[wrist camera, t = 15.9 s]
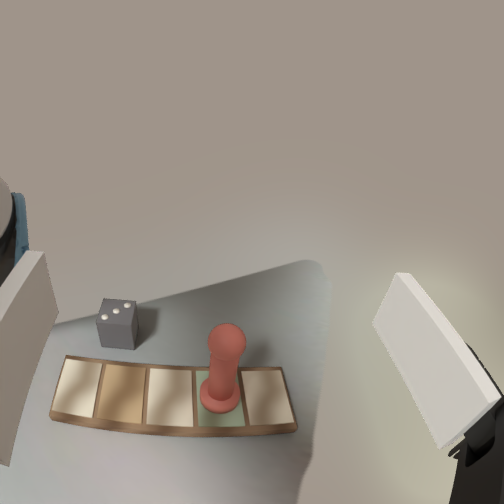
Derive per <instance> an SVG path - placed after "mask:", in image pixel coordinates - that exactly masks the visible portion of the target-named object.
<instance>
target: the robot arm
mask: <svg viewBox="0 0 504 504" xmlns="http://www.w3.org/2000/svg"><path fill="white" fill-rule="evenodd" d="M28 246H29V243H28V229H27V219H26V206H25V198H24V196H23V195H22V194H21V193H15V192H14V193H10V190H9V187H8V186H7V184H6V183H5V182H4V181H3V179H1V178H0V464H3V465H5V466H8V467H9V465H10V460H11V455H12V450H13V446H14V442H15V437H16V433H17V429H18V426H19V422H20V418H21V415H22V411H23V408H24V404H25V401H26V398H27V395H28V391H29V388H30V385H31V382H32V379H33V376H34V373H35V371H36V368H37V365H38V362H39V359H40V357H41V354H42V351H43V349H44V346H45V344H46V341H47V339H48V336H49V334H50V331H51V329H52V327H53V324H54V322H55V319H56V317H57V315H58V309H57V305H56V301H55V297H54V294H53V290H52V286H51V282H50V277H49V273H48V269H47V263H46V259H45V254H44V252H40V251H29V247H28ZM372 325H373V327H374V328H375V330H376V332H377V334H378V335H379V337H380V339H381V340H382V342H383V344H384V346H385V348H386V349H387V351H388V353H389V355H390V356H391V358H392V360H393V362H394V364H395V365H396V367H397V369H398V371H399V373H400V375H401V376H402V378H403V380H404V382H405V384H406V385H407V387H408V389H409V391H410V393H411V395H412V397H413V399H414V401H415V403H416V405H417V407H418V409H419V410H420V413H421V415H422V416H423V418H424V420H425V422H426V424H427V426H428V428H429V431H430V433H431V434H432V437H433V439H434V441H435V443H436V445H437V447H438V449H441V448H443V447H446V446H447V445H450V444H452V443H454V442H455V441H456V440H457V439H458V438H459V437H461V436H462V435H463V434H464V436H465V439H464V440H462V441H461V442H460V443H459V444H458V445H456V446H455V447H454V448H453V449H452V450H451V451H450V452H449V454H448V456H449V457H450V456H452V455H453V454H454V453H455V452H457V451H458V450H459V449H460V451H459V452H458V453H457V454H455V456H454V457H453V458H455V459H458V463H457V469H456V474H455V479H454V484H453V489H452V493H451V497H450V501H449V504H504V395H503V394H502V392H501V391H500V389H499V387H498V386H497V384H496V383H495V381H494V380H493V379H492V377H491V375H490V374H489V372H488V371H487V370H486V368H484V365H483V364H482V362H481V361H480V360H478V357H477V355H476V354H475V352H474V351H473V350H472V348H471V347H470V346H469V345H467V344H466V343H465V342H464V341H463V340H462V338H461V337H460V336H459V334H458V333H457V332H456V330H455V329H454V328H453V326H452V325H451V324H450V322H449V321H448V320H447V318H446V317H445V316H444V315H443V313H442V312H441V311H440V310H439V308H438V307H437V306H436V305H435V303H434V302H433V301H432V300H431V298H430V297H429V296H428V295H427V293H425V291H424V290H423V289H422V287H421V286H420V285H419V284H418V283H417V281H416V280H415V279H414V278H413V277H412V275H411V274H410V273H396V274H395V276H394V278H393V280H392V283H391V285H390V287H389V289H388V291H387V294H386V295H385V298H384V300H383V302H382V304H381V306H380V308H379V310H378V312H377V314H376V316H375V318H374V320H373V322H372Z"/></svg>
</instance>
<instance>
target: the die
mask: <svg viewBox="0 0 504 504" xmlns="http://www.w3.org/2000/svg"><path fill="white" fill-rule="evenodd" d="M96 325H97V329H98V334H99V338H100V342H101V346H102V347H110V348H120V349H130V350H134V349H135V343H136V336H137V330H138V318H137V307H136V301H127V300H116V299H103V302H102V305H101V308H100V311H99V314H98V317H97V320H96Z"/></svg>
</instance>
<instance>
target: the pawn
mask: <svg viewBox="0 0 504 504" xmlns="http://www.w3.org/2000/svg"><path fill="white" fill-rule="evenodd" d="M208 347H209V350H210V352H211V356H210V367H209V378H207V379H205V380H204V381H203V382H202V384H201V386H200V402H201V404H202V405H203V407H204V408H205V409H207V410H208V411H210V412H213V413H216V414H225V413H228V412H231V411H232V410H234V409H235V408H236V406H237V405H238V402H239V398H240V388H239V386H238V384H237V383H236V382H235V379H236V373H237V368H238V363H239V358H240V356H241V355H242V353H243V352H244V350H245V347H246V337H245V335H244V333H243V331H242V330H241V329H240V328H239V327H237V326H236V325H233V324H229V323H225V324H220V325H218V326H216V327H215V328H214V329H213V330H212V331H211V333H210V334H209V337H208Z"/></svg>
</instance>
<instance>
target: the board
mask: <svg viewBox="0 0 504 504" xmlns="http://www.w3.org/2000/svg"><path fill="white" fill-rule="evenodd" d="M207 378H209V367H185V366H166V365H151V364H138V363H127V362H117V361H108V360H99V359H91V358H84V357H76V356H70V355H66V356H65V360H64V363H63V366H62V369H61V373H60V376H59V379H58V383H57V386H56V390H55V394H54V397H53V401H52V405H51V409H50V413H49V416H50V418H51V419H52V420H54V421H58V422H63V423H68V424H73V425H78V426H84V427H90V428H96V429H103V430H110V431H118V432H126V433H136V434H147V435H161V436H182V437H234V436H255V435H269V434H280V433H290V432H295V431H296V429H297V424H296V421H295V417H294V413H293V409H292V406H291V402H290V398H289V395H288V391H287V387H286V383H285V380H284V376H283V372H282V369H281V367H246V368H237V373H236V379H235V382H236V383H237V384H238V386H239V388H240V398H239V402H238V405H237V406H236V408H235V409H234V410H232V411H231V412H228V413H225V414H216V413H213V412H210V411H208V410H207V409H205V408H204V407H203V405H202V404H201V402H200V386H201V384H202V382H203V381H204V380H205V379H207Z"/></svg>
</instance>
